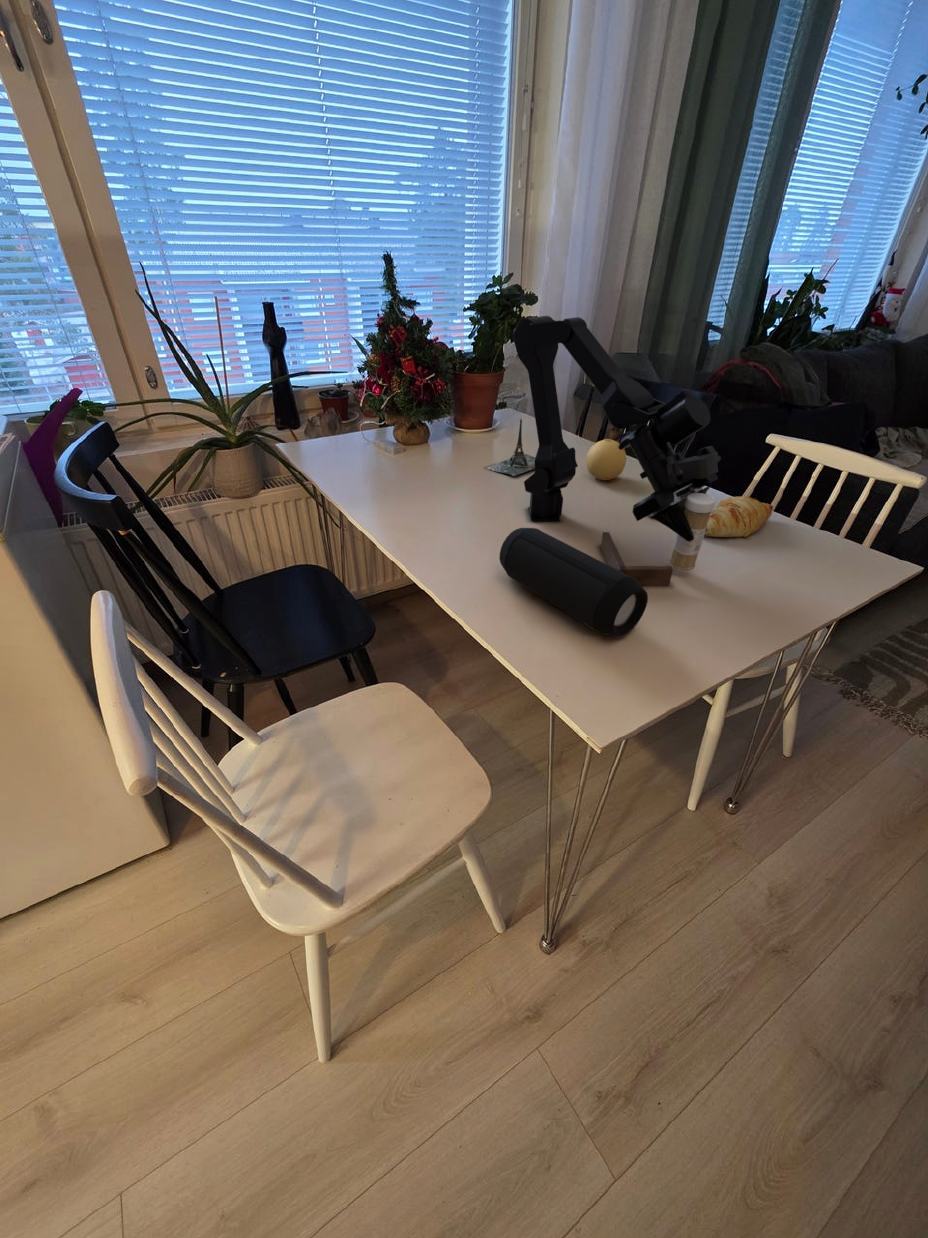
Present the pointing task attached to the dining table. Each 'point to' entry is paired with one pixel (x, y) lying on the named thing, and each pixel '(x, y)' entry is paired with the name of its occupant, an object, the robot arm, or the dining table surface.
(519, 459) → the eiffel tower figurine
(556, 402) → the robot arm
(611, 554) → the corner fence
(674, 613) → the dining table surface
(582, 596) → the portable speaker
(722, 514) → the croissant
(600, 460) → the stress ball
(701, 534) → the sprinkles bottle
